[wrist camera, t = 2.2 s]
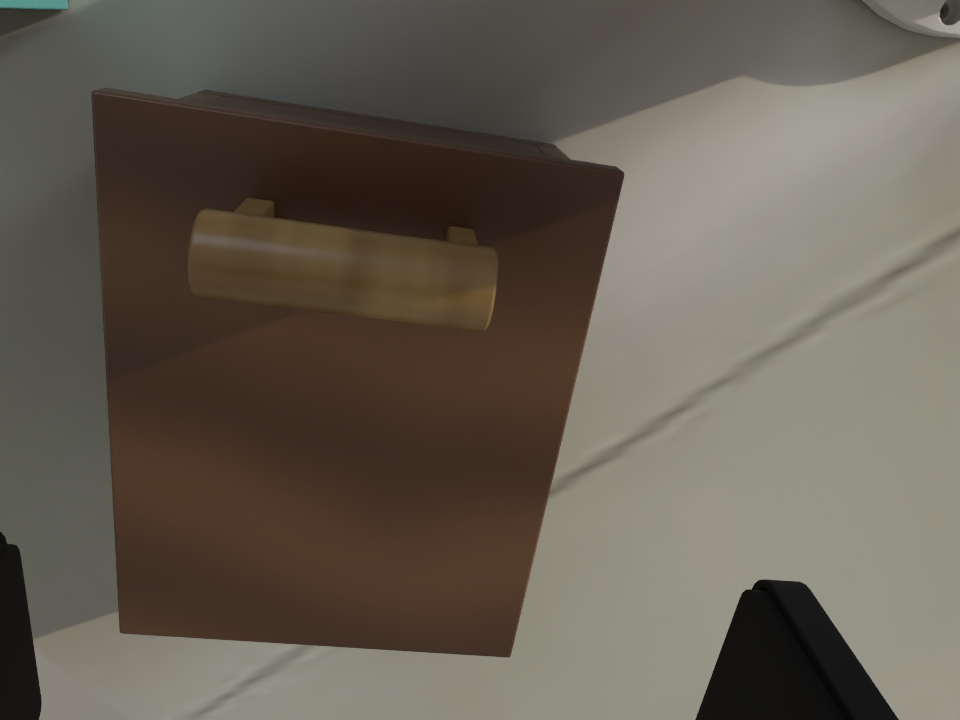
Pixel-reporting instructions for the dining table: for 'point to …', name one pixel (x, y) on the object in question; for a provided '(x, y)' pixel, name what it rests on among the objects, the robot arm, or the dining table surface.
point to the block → (34, 4)
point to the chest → (374, 123)
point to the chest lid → (334, 372)
